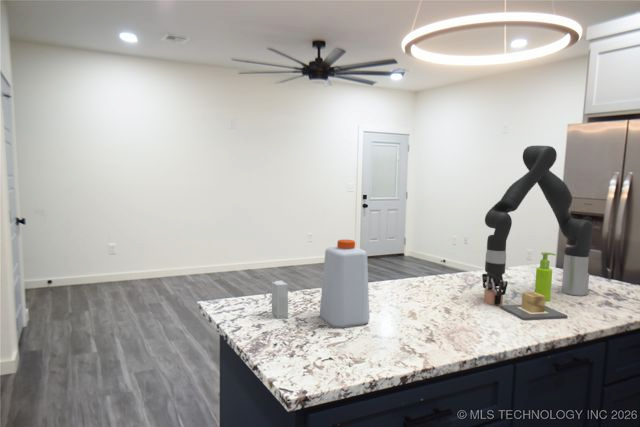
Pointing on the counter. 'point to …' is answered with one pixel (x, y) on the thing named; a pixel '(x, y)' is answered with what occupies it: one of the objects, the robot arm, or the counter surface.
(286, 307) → the skincare box
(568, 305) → the counter surface
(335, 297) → the plastic bottle
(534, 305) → the ochre block
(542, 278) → the soap dispenser
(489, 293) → the terracotta block
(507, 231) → the robot arm
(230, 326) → the counter surface
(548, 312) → the grey flat slab
